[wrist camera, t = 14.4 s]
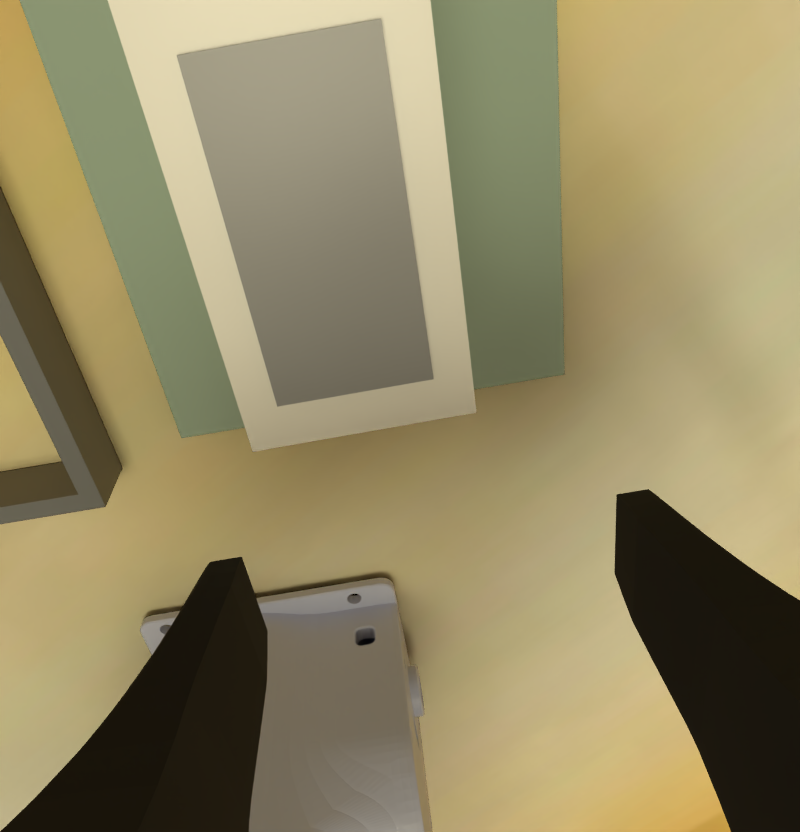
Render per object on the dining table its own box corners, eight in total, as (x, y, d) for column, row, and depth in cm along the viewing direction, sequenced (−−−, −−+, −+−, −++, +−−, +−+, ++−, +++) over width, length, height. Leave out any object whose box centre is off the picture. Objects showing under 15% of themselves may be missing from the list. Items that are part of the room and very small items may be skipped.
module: (387, -52, 16) (423, -74, 10) (432, 284, 20) (477, 416, 14) (188, -17, 16) (98, -16, 10) (275, 312, 20) (251, 456, 14)
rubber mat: (542, -278, 14) (550, -289, 14) (559, 365, 22) (564, 374, 22) (-37, -181, 14) (-49, -186, 14) (184, 428, 22) (181, 438, 22)
